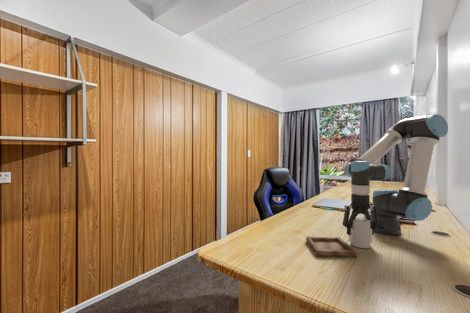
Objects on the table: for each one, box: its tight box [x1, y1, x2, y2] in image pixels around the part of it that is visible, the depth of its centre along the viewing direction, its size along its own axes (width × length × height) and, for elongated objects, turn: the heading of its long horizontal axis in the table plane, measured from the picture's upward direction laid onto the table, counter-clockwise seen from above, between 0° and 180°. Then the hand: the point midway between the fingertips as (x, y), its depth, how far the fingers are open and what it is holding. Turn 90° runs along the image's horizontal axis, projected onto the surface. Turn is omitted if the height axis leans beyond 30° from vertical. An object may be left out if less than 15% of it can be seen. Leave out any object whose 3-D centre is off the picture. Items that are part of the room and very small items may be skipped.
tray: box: [305, 236, 357, 259], centre depth 100 cm, size 16×16×2 cm
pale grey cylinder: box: [350, 216, 371, 249], centre depth 104 cm, size 8×8×12 cm
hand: (360, 241), depth 104 cm, fingers closed on pale grey cylinder, 8 cm apart
